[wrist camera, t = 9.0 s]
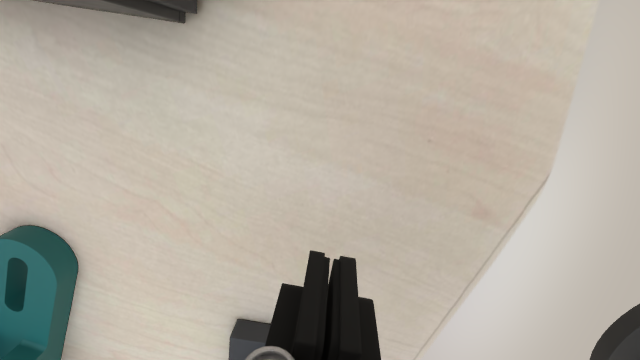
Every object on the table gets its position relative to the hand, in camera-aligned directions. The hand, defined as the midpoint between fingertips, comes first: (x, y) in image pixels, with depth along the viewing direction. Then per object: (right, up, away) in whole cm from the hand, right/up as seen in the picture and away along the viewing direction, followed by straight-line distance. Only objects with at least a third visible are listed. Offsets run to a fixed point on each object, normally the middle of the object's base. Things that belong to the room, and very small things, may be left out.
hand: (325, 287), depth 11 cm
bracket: (-28, -8, +19) cm, 35 cm away
